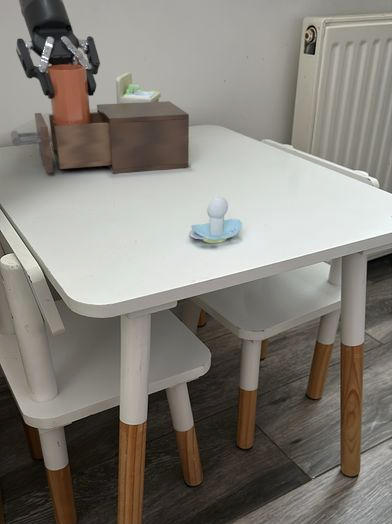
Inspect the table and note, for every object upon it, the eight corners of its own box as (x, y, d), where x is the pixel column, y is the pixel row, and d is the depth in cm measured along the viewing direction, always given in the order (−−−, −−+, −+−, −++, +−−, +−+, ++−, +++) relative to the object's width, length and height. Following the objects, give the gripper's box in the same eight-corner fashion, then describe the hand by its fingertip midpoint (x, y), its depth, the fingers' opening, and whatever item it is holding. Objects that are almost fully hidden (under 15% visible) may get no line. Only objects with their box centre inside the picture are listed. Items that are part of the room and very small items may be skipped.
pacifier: (180, 235, 80) (199, 249, 75) (180, 191, 76) (199, 204, 72) (225, 227, 82) (246, 240, 78) (227, 184, 79) (248, 196, 75)
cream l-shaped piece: (152, 147, 118) (150, 79, 111) (119, 144, 120) (115, 77, 112) (162, 137, 125) (160, 73, 118) (130, 135, 126) (127, 71, 119)
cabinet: (113, 173, 103) (109, 118, 97) (100, 155, 112) (96, 104, 107) (188, 167, 107) (188, 114, 101) (170, 150, 116) (169, 101, 111)
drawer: (18, 175, 98) (10, 128, 94) (14, 157, 107) (7, 114, 103) (121, 167, 103) (118, 122, 99) (109, 151, 112) (106, 109, 108)
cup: (47, 124, 99) (40, 68, 94) (62, 116, 105) (56, 63, 100) (82, 127, 98) (77, 70, 93) (95, 119, 104) (91, 65, 99)
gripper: (4, -6, 93) (33, 82, 91) (86, -6, 99) (115, 77, 97) (2, 28, 100) (29, 111, 98) (79, 26, 106) (106, 104, 104)
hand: (72, 94), depth 98 cm, fingers closed on cup, 6 cm apart
